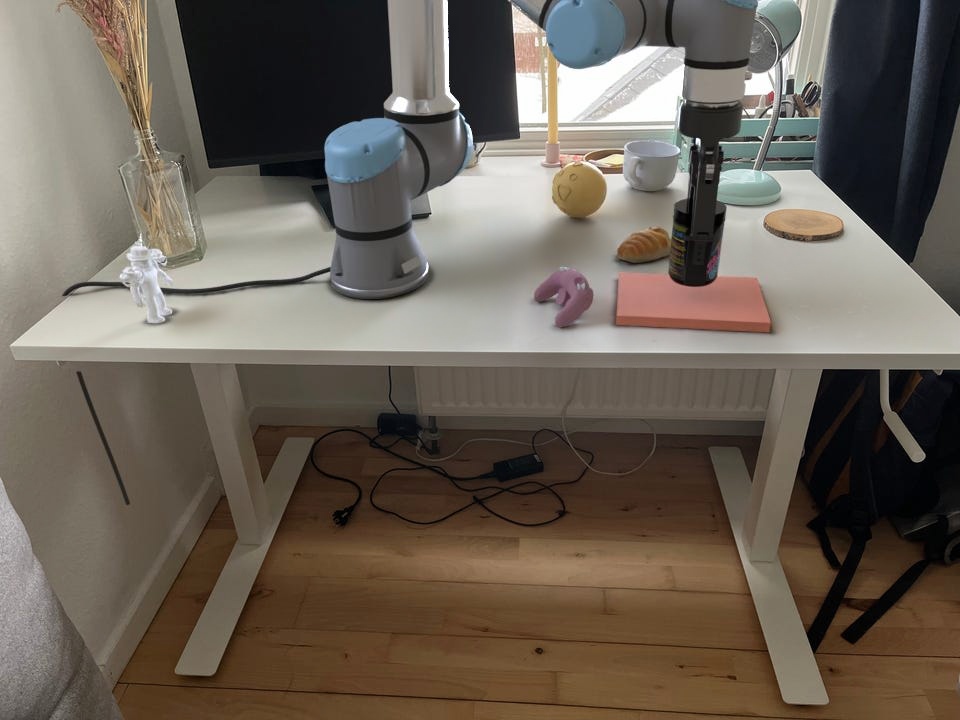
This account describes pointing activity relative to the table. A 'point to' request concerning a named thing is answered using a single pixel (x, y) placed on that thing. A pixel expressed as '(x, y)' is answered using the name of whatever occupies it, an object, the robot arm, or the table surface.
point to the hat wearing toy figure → (147, 281)
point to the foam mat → (691, 303)
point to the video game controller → (566, 294)
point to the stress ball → (579, 189)
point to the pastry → (645, 245)
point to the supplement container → (680, 245)
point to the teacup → (650, 164)
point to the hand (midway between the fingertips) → (692, 271)
